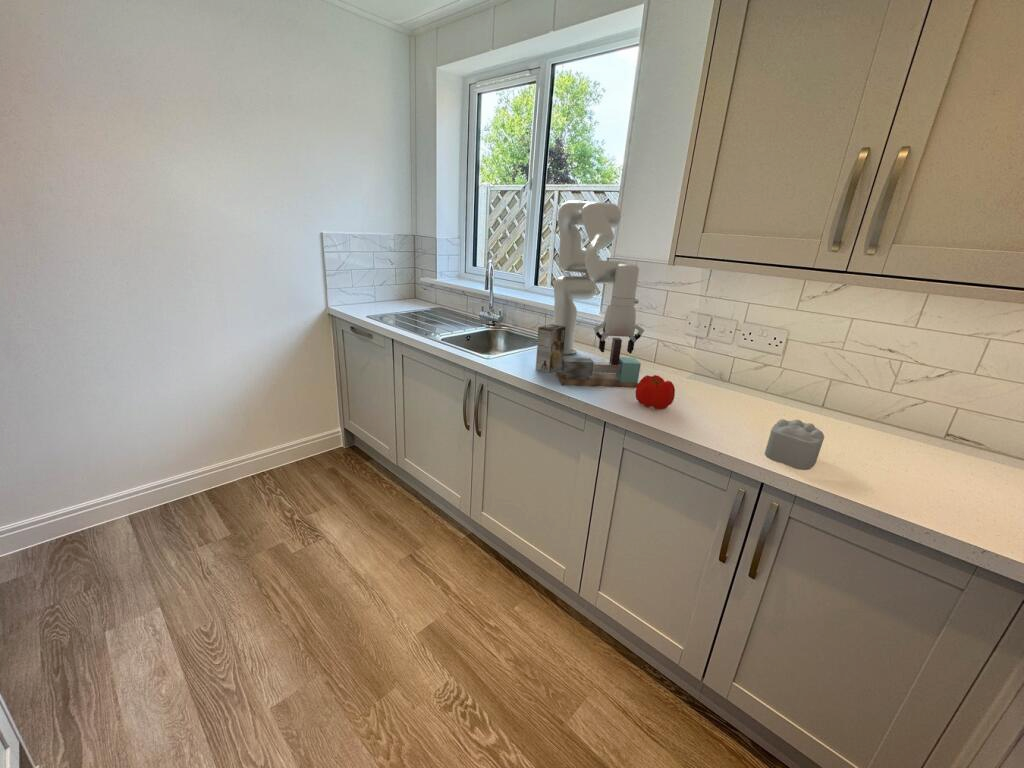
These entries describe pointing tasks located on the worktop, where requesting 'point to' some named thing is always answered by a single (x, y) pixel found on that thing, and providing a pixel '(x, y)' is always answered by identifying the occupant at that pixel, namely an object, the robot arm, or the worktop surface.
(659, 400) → the tomato
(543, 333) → the coffee box
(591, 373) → the sleeve base
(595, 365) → the grey l-shaped piece
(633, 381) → the socket block
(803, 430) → the lumpy-topped squat cylinder
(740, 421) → the worktop surface
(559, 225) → the robot arm
